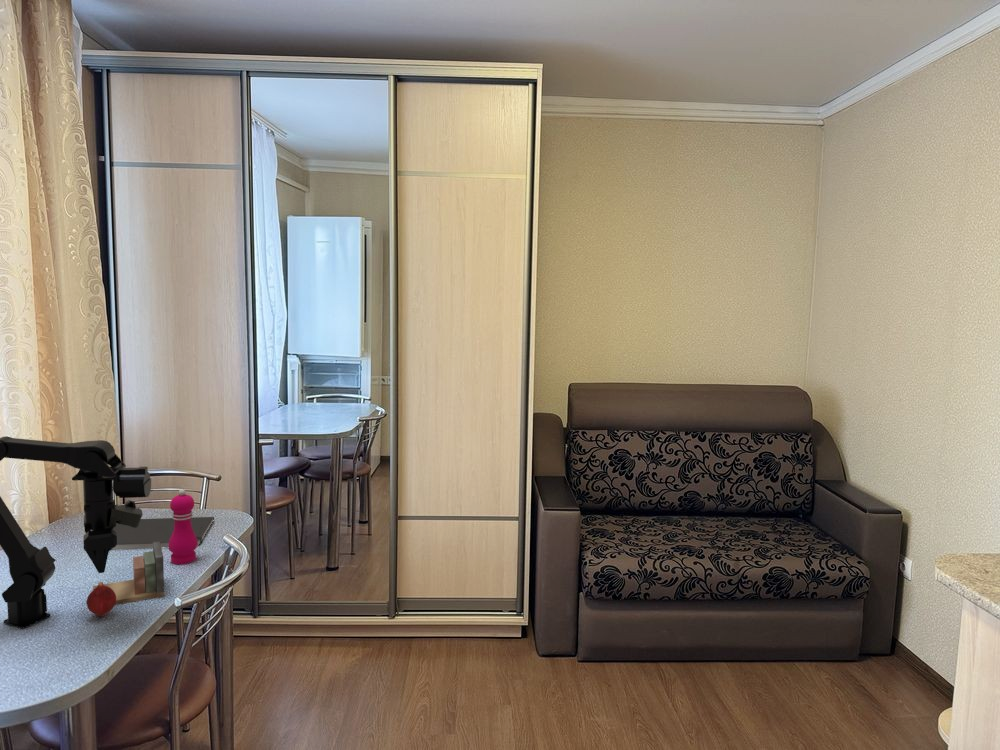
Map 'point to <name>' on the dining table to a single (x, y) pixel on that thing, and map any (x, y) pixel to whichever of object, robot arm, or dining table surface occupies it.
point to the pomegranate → (101, 600)
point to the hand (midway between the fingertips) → (101, 565)
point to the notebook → (156, 532)
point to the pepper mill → (182, 530)
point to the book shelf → (128, 592)
